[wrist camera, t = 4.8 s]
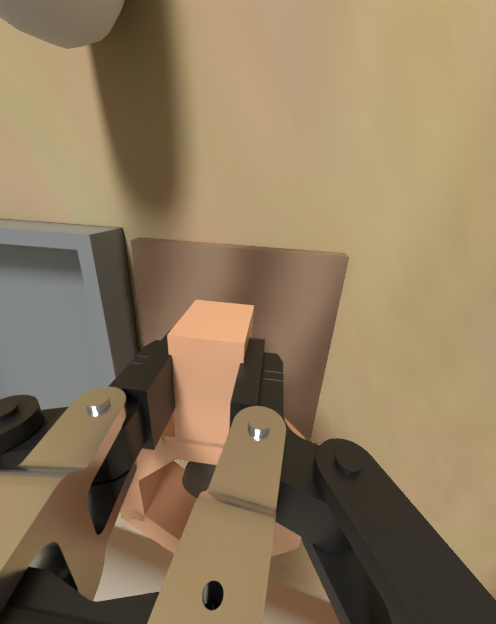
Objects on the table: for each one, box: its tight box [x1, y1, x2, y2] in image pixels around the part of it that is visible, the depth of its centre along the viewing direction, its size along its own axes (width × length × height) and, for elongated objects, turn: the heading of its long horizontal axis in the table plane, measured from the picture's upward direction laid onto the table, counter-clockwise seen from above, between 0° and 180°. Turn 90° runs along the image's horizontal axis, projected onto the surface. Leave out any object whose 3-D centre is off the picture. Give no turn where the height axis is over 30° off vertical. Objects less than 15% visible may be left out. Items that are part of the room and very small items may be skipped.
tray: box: [0, 219, 139, 410], centre depth 19 cm, size 15×20×3 cm
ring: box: [120, 300, 305, 557], centre depth 12 cm, size 8×13×3 cm, turn 177°
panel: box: [131, 238, 349, 498], centre depth 15 cm, size 12×16×8 cm
